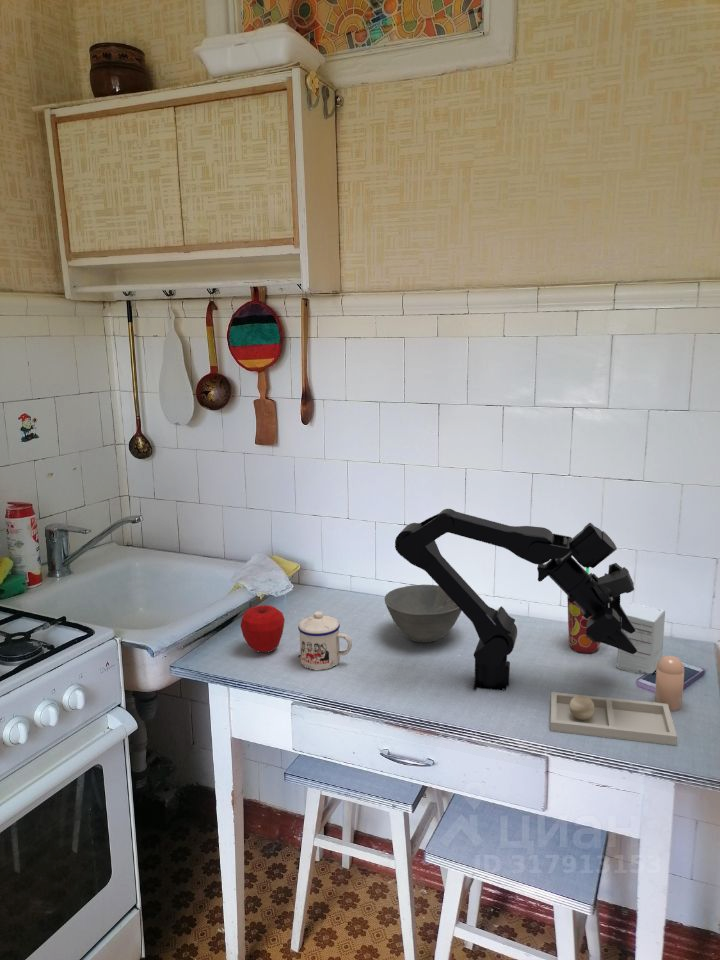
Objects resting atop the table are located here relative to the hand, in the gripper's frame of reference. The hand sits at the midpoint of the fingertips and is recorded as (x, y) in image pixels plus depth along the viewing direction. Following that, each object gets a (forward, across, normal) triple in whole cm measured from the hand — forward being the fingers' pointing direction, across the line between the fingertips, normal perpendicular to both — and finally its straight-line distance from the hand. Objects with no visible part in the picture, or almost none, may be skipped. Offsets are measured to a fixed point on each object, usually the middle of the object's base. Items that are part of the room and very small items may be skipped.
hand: (634, 641), depth 137 cm
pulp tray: (+6, -9, +12) cm, 16 cm away
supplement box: (+11, +16, +8) cm, 20 cm away
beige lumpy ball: (+2, -10, +15) cm, 18 cm away
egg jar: (+14, 0, +4) cm, 14 cm away
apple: (-47, +2, +65) cm, 80 cm away
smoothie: (+2, +22, +16) cm, 27 cm away
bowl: (-23, +18, +41) cm, 50 cm away
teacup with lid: (-36, 0, +53) cm, 64 cm away
